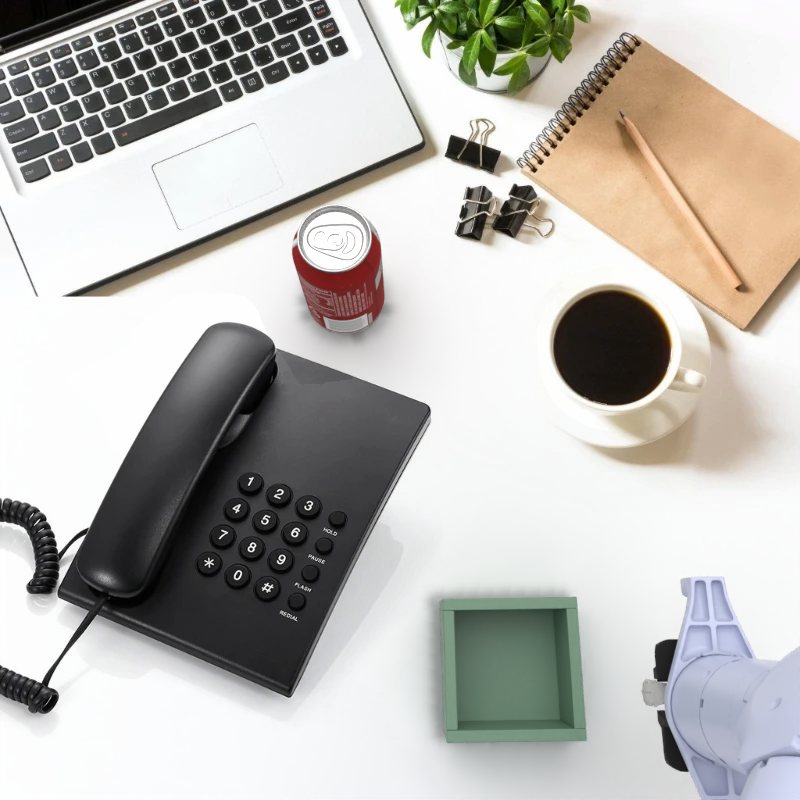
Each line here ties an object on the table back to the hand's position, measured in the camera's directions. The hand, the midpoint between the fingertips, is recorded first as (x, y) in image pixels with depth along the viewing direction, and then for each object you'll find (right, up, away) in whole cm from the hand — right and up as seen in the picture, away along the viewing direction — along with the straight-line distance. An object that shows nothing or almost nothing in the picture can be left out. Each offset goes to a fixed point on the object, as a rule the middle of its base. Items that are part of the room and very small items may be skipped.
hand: (670, 694), depth 54 cm
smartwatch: (0, 0, +2) cm, 2 cm away
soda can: (-23, +29, +17) cm, 40 cm away
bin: (-10, -1, +8) cm, 13 cm away
